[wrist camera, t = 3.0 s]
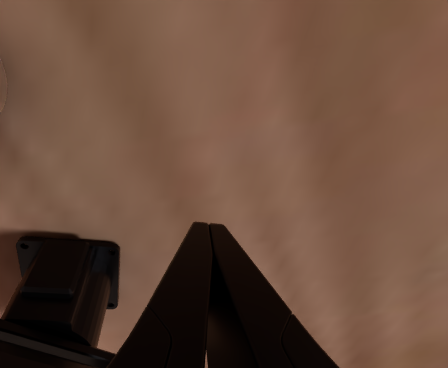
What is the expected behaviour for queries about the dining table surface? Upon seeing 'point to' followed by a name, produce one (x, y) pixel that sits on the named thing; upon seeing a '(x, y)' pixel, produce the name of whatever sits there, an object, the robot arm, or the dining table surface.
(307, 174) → the dining table surface
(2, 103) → the plastic bottle
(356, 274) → the dining table surface
